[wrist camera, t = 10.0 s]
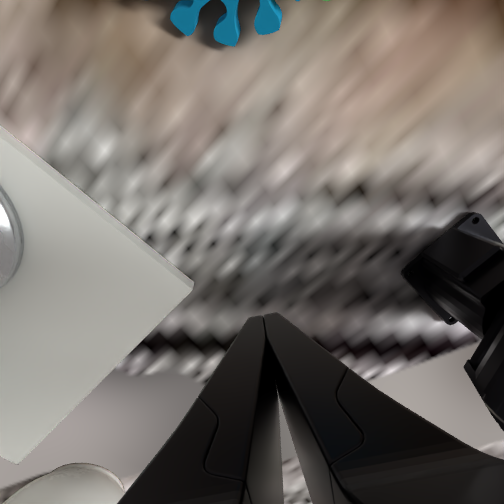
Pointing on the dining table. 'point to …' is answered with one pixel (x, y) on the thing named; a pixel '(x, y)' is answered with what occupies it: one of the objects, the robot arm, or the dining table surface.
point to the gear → (227, 19)
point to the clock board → (69, 299)
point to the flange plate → (9, 239)
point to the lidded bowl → (72, 487)
